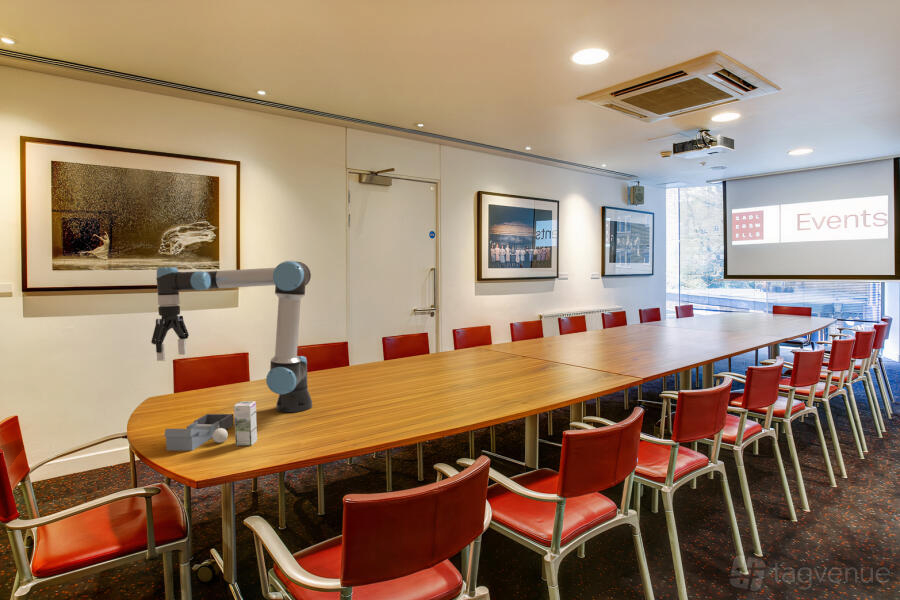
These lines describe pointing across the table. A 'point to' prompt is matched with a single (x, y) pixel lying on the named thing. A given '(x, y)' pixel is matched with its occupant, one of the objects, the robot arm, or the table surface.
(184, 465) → the table surface
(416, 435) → the table surface
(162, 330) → the robot arm
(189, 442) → the launch ramp
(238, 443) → the syrup box
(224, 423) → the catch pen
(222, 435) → the pale rubber ball
